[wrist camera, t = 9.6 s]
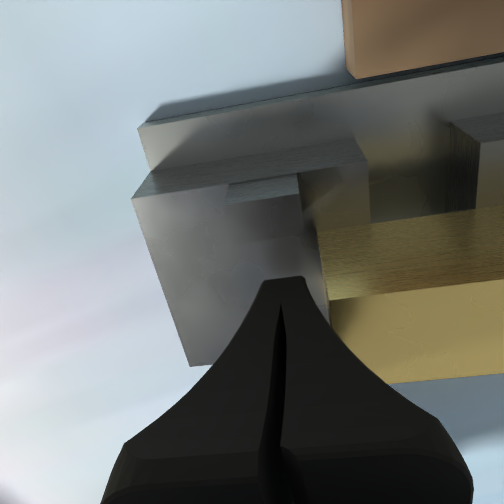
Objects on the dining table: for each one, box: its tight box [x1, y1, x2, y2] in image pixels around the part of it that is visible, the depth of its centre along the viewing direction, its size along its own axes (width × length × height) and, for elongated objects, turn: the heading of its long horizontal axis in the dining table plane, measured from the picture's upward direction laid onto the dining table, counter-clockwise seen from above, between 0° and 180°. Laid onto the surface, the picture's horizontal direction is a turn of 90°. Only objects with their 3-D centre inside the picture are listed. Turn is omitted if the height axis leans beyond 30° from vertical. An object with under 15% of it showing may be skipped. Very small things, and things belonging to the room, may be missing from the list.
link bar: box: [317, 205, 504, 384], centre depth 12 cm, size 3×9×4 cm, turn 101°
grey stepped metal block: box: [131, 57, 504, 367], centre depth 14 cm, size 10×17×5 cm, turn 101°
